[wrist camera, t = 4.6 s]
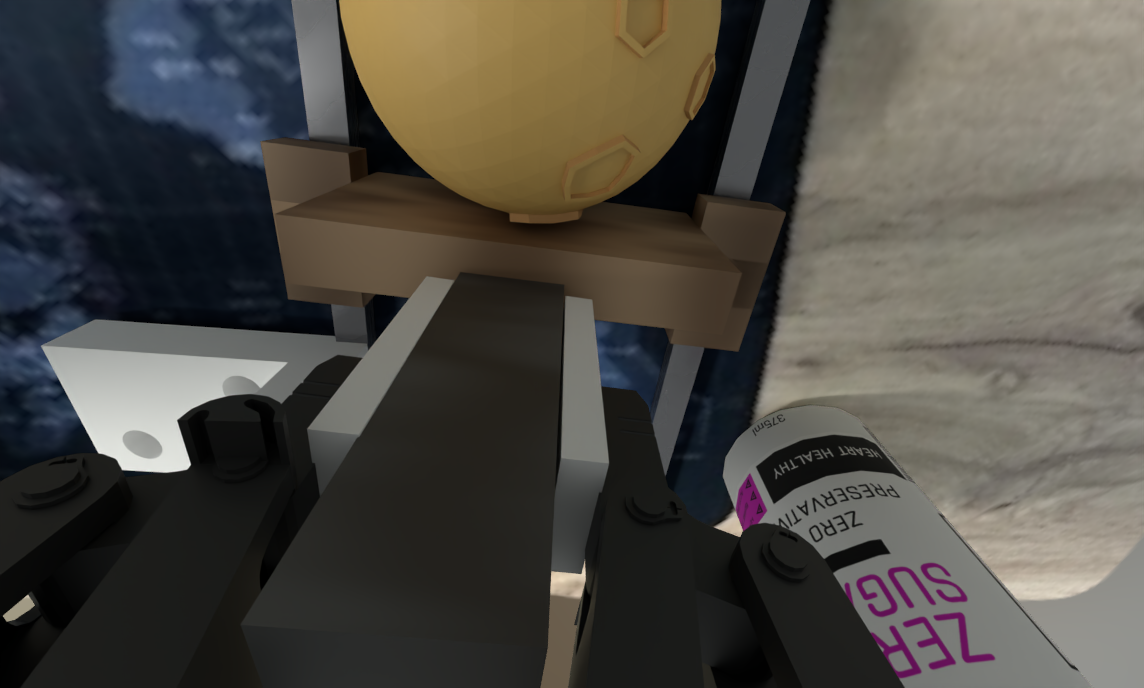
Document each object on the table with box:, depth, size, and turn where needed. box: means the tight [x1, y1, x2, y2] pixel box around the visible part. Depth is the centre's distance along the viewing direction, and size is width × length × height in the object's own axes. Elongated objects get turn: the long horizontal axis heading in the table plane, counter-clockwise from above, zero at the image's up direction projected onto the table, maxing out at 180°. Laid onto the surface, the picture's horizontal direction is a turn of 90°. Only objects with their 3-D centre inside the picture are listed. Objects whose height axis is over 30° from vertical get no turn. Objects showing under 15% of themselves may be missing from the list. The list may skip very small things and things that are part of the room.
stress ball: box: [339, 0, 721, 223], centre depth 13 cm, size 10×10×10 cm
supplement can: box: [723, 405, 1093, 688], centre depth 20 cm, size 8×8×15 cm
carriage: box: [241, 137, 786, 688], centre depth 13 cm, size 19×6×18 cm, turn 83°
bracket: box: [41, 319, 368, 473], centre depth 22 cm, size 13×7×8 cm, turn 85°
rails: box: [292, 0, 810, 476], centre depth 21 cm, size 18×28×1 cm, turn 173°
